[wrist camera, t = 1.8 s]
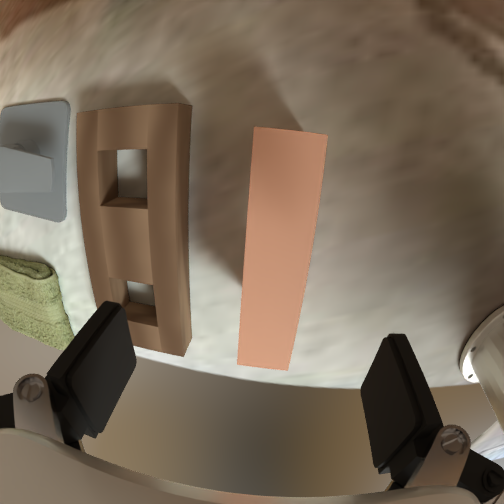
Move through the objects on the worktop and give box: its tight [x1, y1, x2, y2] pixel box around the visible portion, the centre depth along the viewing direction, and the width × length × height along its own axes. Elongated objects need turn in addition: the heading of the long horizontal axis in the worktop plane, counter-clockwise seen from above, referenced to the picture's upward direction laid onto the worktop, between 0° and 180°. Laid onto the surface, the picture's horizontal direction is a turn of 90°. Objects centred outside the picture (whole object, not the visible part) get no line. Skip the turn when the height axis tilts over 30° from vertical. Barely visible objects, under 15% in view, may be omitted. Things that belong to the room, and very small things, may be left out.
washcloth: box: [0, 255, 74, 350], centre depth 30 cm, size 13×18×3 cm
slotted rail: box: [76, 103, 192, 357], centre depth 24 cm, size 9×22×3 cm, turn 176°
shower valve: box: [0, 101, 70, 222], centre depth 21 cm, size 12×6×15 cm
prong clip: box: [237, 127, 328, 371], centre depth 20 cm, size 4×15×8 cm, turn 176°
